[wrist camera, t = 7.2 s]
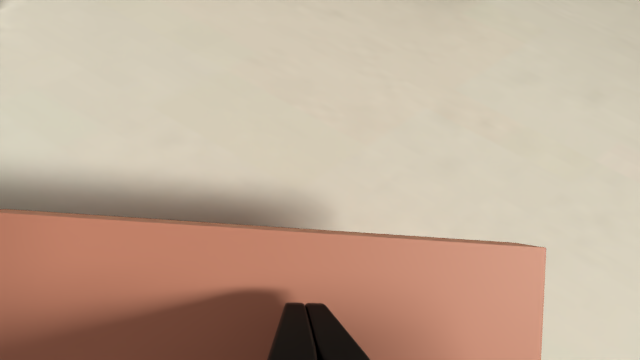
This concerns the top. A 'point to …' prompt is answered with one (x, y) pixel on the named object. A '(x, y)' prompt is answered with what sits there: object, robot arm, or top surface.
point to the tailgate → (256, 290)
